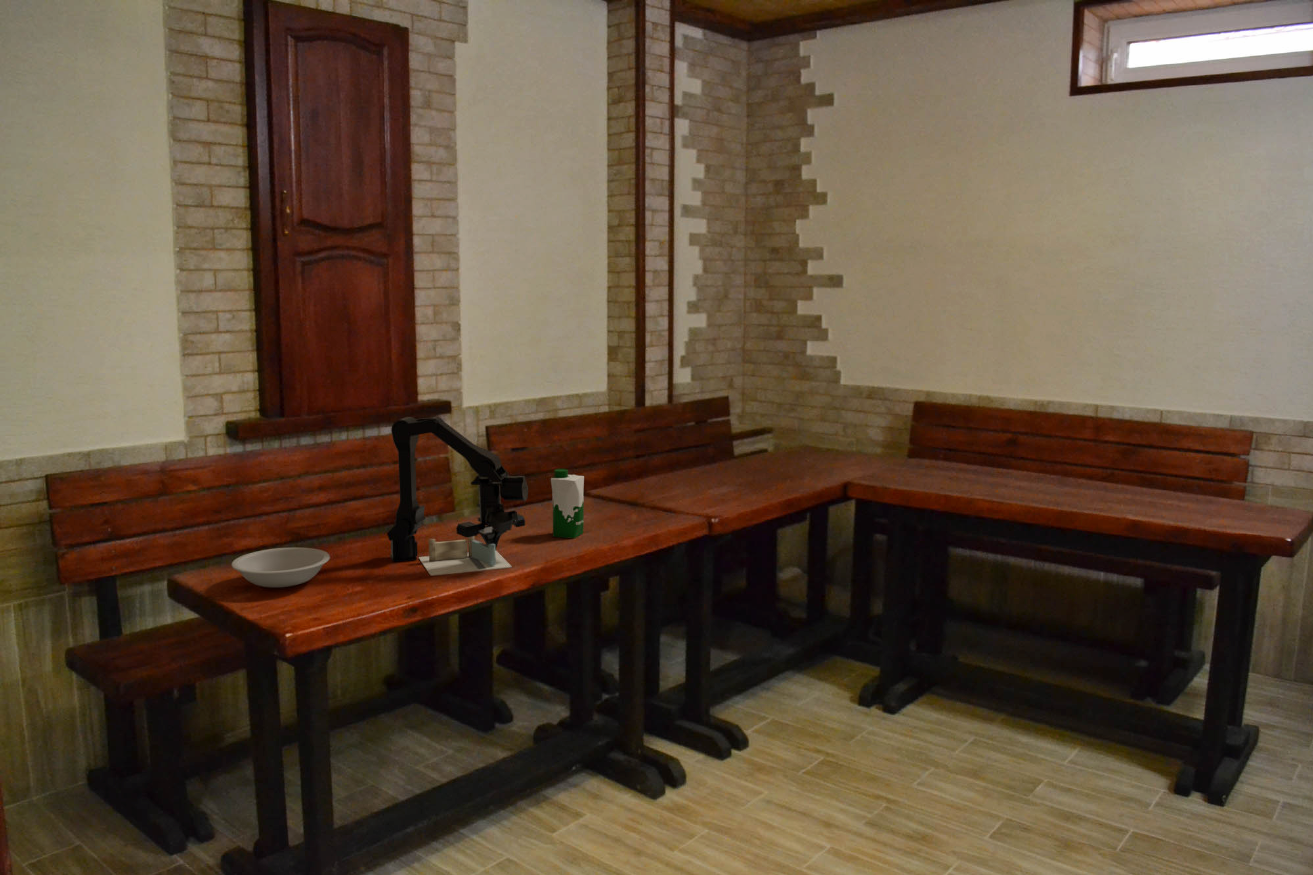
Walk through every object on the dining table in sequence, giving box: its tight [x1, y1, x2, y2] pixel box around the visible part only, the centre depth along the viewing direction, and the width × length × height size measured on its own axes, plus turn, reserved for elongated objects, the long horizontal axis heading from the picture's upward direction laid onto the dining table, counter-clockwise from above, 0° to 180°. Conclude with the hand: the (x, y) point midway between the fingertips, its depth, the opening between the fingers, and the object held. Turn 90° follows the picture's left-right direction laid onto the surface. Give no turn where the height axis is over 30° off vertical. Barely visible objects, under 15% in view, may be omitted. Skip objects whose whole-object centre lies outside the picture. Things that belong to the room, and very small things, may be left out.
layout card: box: [418, 550, 512, 577], centre depth 308 cm, size 22×18×1 cm
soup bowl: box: [231, 547, 331, 588], centre depth 287 cm, size 24×24×7 cm
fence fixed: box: [428, 536, 476, 561], centre depth 310 cm, size 13×2×6 cm, turn 112°
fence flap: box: [472, 539, 496, 566], centre depth 307 cm, size 11×2×6 cm, turn 38°
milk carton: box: [550, 468, 585, 539], centre depth 337 cm, size 9×9×20 cm
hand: (492, 554), depth 308 cm, fingers closed
